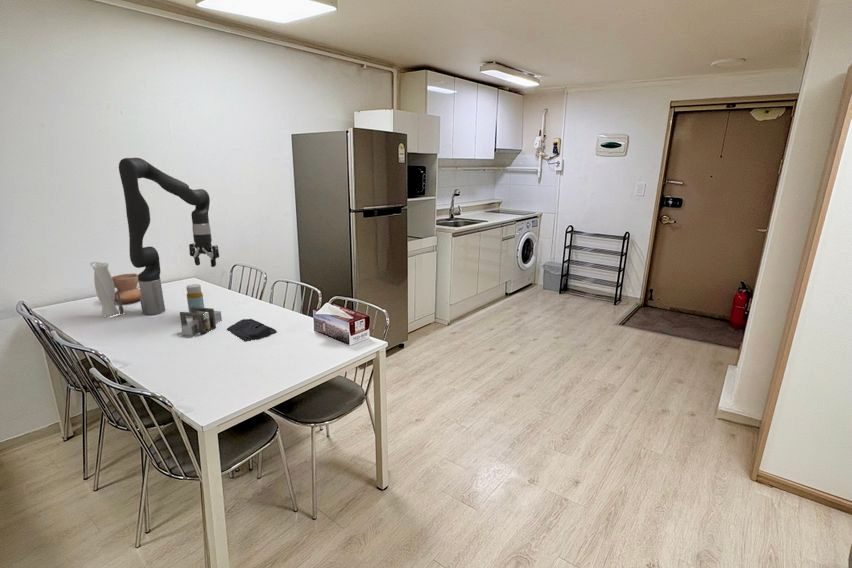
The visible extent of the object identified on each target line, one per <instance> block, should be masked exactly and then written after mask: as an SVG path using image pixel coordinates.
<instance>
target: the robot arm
mask: <svg viewBox="0 0 852 568" xmlns="http://www.w3.org/2000/svg"><path fill="white" fill-rule="evenodd" d="M118 172H119V173H118V174H119V177H120V180H121V181H120V182H121V184H122V189H123V195H124V201H125V202H124V203H125V211H126V212H125V213H126V220H127V225H128V226H127V227H128V237H129V239H128V240H129V242H128V243H129V246H128V247H129V260H130V263H131V264H132V266H133V267H134V268H136V269H137V268H138V269H141V268H144V269H143V271H141V272H140V273H138V281H139V282H138V287H139V289H140V292H141V295H140V300H139V302H140V307H141V310H142V311H141V312H142V314H144V315H147V316H152V315H154V314H155V315H159V314H162V312H163V313H164V312H166V306H165V299H164V294H163V293H164V292H163V288H162V281H161V276H160V275H161V263H160V256H159V255H160V254H159V253H158V250H157V249H156V247H154V246H151V245H150V246H145V247H144V246H143V243H144V241H143V240H144V237H145V234H146V233H147V230H148V229H149V226H150V225H151V212H150V206H149V205H148V203H147V201H146V200H145V198H144V196H143V195H142V193H141V191H140V188H139V179H147V180H150V181H152V182H154V183H155V184H157V185H159V186H160V188H162V189H163V190H164V191H165V192H167V193H169V194H172V195H174V196H175V197H176V196H177V197H178V198H180V199H181V200H182V201H184V202H185V203H187V204H188V205H191V206H195V208H194V210H193V211H191V223H192V224H191V225H192V237H193V242H192V243H190V244H189V245H188V247H189V249H188V250H189V256H190V257H193V259H194V265H195V266H200V265H201V262H200V261H201V259H200V257H199V256H200V255H206V256H208V257H209V259H210V267H211V268H214V267H216V266H217V259H219V258H220V251H219V246H218V244H216V245H212V231H211V225H210V220H209V219H210V218H209V209H210V202H211V201H210V200H211V199H210V194H209V193H208V191H207V190H205V189H203V188H197V189H193V188H191V187H190V186H189V184H187V183H186V182H183V181H182V180H180V179H177V178H175V177H173V176H171V175H169V174H167V173H166V172H164V171H162V170H160V169H158V168H157V167H155V166H154V165H153V164H151V163H149V162H148V161H146V159H143V158H139V157H125V158H121V160H120V161H119V163H118Z"/></svg>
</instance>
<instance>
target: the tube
mask: <svg viewBox="0 0 852 568" xmlns="http://www.w3.org/2000/svg"><path fill="white" fill-rule="evenodd" d="M214 316H215V323H216V325H217V323H218V322H219V323H221V322H222V321H223V319H222V318H223V317H222V311H218V310H214ZM203 317H204V324H205V323H210V321H209V313H208V312H205V313H204V315H203ZM220 321H221V322H220ZM219 323H218V324H219ZM180 326H181V331H182V337H188V336H190V337H191V338H193V336H194V337H196V336H198V335H200V330H199V323H198V318H196V319H193V320H189V321H187V323H185V324H183V325H181V324H180ZM195 335H196V336H195ZM190 337H189V338H190Z"/></svg>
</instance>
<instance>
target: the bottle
mask: <svg viewBox="0 0 852 568" xmlns="http://www.w3.org/2000/svg"><path fill="white" fill-rule="evenodd" d="M186 301H187V306H188V307H187V308H188V312H190V313H191V307H201V308H205V303H204V302H205V301H204V295H203V292H202V287H201V284H198V283H194V284H193V283H192V284H188V285H186ZM197 313H200V314H206V312H201V311H197Z"/></svg>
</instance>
